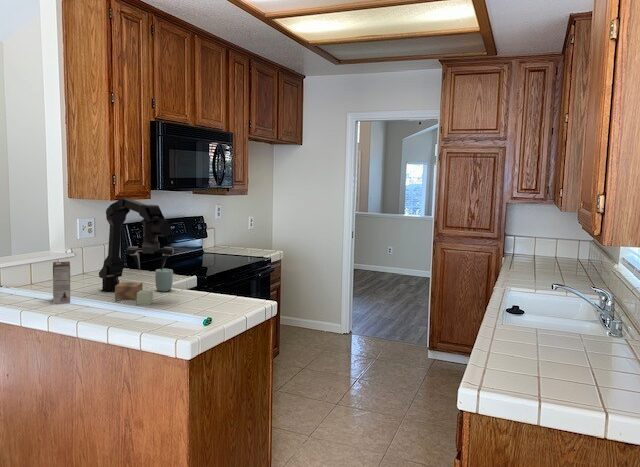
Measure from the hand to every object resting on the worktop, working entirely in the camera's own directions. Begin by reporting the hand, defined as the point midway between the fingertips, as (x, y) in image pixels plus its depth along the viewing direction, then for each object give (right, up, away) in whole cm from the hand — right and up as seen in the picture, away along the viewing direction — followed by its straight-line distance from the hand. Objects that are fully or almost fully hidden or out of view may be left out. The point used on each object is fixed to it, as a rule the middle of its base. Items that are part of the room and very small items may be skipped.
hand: (150, 270), depth 210 cm
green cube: (-2, -14, -2) cm, 14 cm away
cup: (-1, -12, +22) cm, 25 cm away
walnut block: (-12, -13, +7) cm, 19 cm away
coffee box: (-36, -13, -5) cm, 38 cm away
